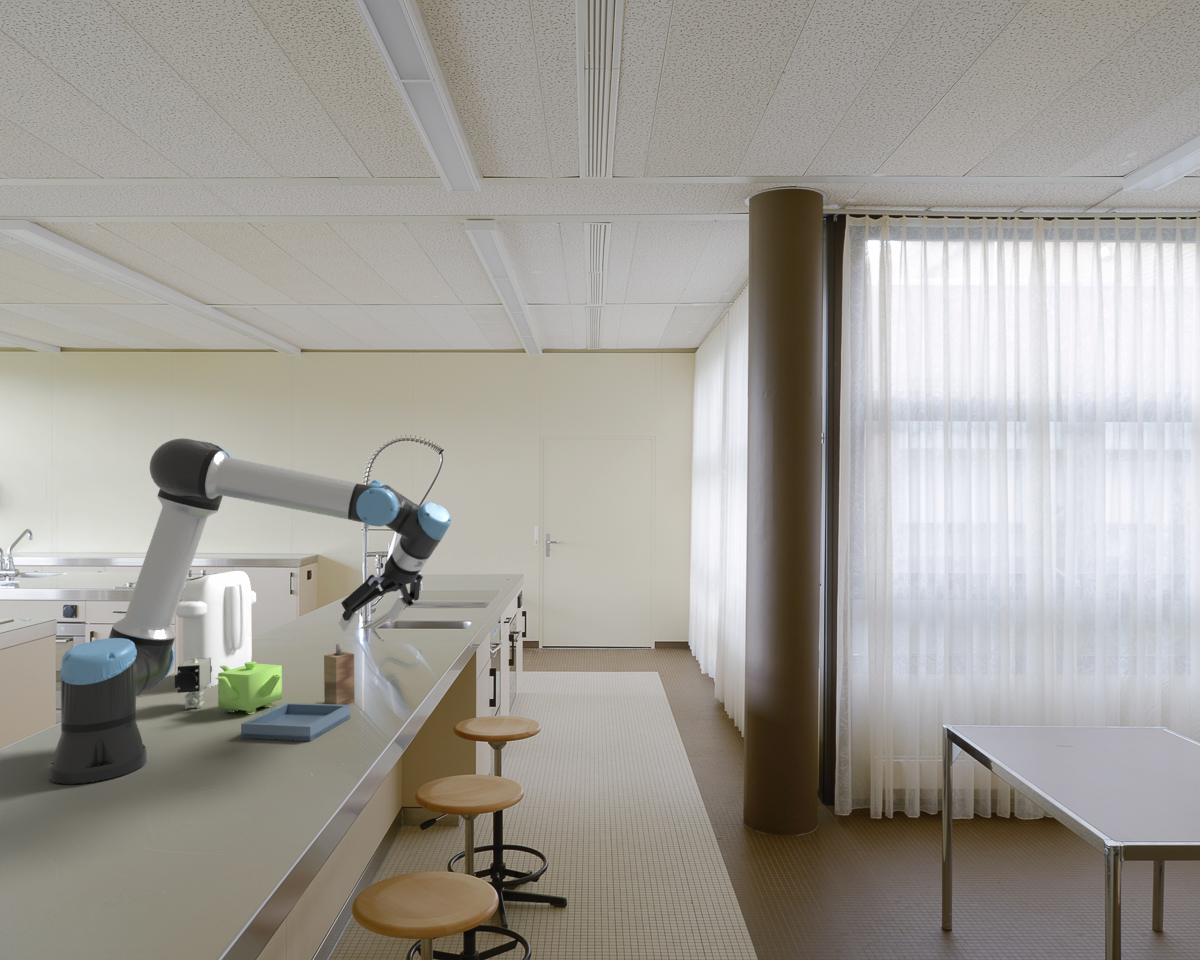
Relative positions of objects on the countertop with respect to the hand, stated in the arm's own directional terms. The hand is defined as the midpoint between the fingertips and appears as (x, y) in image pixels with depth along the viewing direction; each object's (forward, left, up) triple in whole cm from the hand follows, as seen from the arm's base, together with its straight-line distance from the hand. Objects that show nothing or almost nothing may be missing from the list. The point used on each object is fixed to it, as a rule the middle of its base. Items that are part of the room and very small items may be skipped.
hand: (367, 622), depth 175 cm
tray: (-15, +9, -21) cm, 27 cm away
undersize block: (+4, +10, -21) cm, 23 cm away
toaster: (+23, +57, -21) cm, 65 cm away
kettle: (-3, +30, -21) cm, 37 cm away
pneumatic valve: (-3, +45, -21) cm, 50 cm away
